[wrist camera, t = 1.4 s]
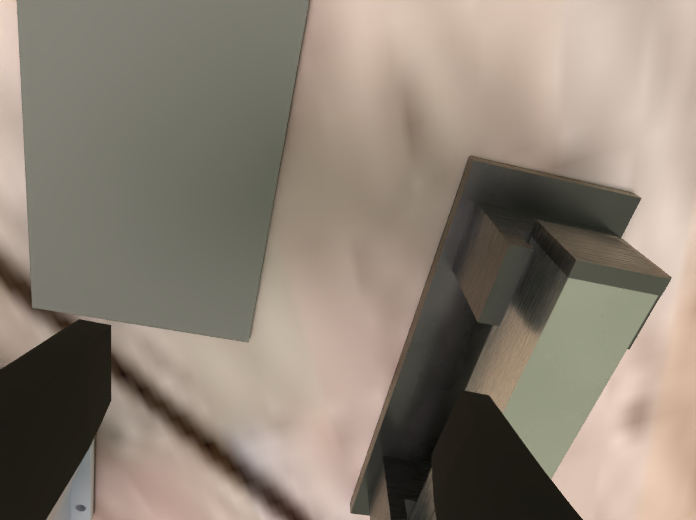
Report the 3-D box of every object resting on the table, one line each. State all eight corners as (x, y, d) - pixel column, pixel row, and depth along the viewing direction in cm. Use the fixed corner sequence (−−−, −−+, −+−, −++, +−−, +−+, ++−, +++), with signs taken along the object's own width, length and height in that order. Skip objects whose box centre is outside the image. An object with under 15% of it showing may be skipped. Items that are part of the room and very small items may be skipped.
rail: (454, 554, 26) (470, 621, 23) (395, 547, 25) (404, 615, 22) (617, 236, 18) (671, 279, 15) (536, 219, 17) (576, 260, 15)
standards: (468, 517, 29) (492, 602, 25) (350, 503, 28) (354, 589, 24) (633, 192, 20) (711, 240, 16) (469, 155, 19) (509, 196, 15)
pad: (249, 337, 23) (248, 342, 22) (37, 302, 21) (32, 307, 21) (370, -344, 13) (372, -354, 13) (1, -479, 12) (-8, -493, 12)
